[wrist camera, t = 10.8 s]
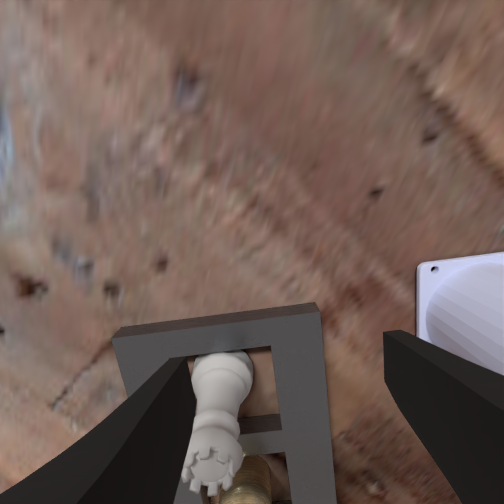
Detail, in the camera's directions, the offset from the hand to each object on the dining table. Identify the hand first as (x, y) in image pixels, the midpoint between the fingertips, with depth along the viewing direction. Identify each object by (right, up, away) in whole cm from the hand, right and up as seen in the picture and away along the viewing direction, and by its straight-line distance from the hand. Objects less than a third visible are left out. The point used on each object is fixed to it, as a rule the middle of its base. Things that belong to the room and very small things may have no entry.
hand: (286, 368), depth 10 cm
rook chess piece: (-3, -4, +11) cm, 12 cm away
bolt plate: (-2, -10, +12) cm, 16 cm away
